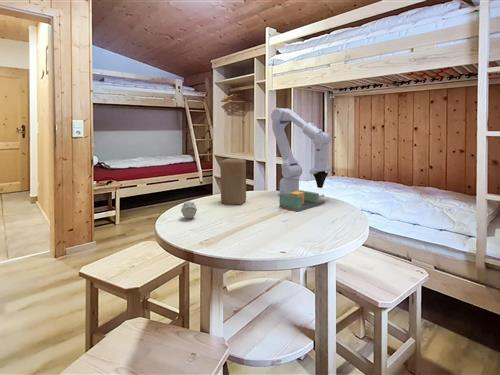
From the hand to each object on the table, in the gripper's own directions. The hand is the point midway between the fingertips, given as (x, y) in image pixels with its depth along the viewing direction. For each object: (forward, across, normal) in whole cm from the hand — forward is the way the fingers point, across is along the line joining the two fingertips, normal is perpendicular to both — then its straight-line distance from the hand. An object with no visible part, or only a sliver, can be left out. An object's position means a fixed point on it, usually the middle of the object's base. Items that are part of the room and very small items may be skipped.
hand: (319, 187), depth 158 cm
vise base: (+6, -13, 0) cm, 14 cm away
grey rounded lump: (+6, -61, +18) cm, 64 cm away
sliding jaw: (+5, -6, 0) cm, 8 cm away
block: (+6, -31, +26) cm, 41 cm away
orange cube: (+5, -17, 0) cm, 18 cm away
